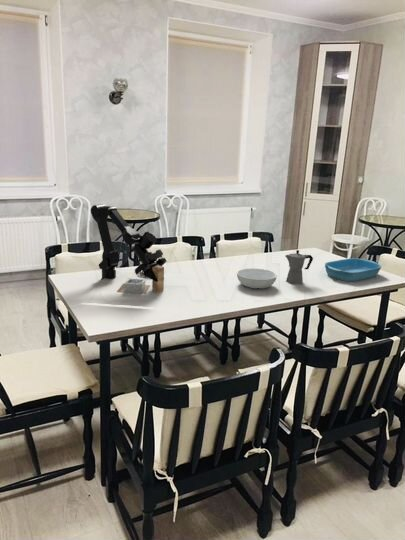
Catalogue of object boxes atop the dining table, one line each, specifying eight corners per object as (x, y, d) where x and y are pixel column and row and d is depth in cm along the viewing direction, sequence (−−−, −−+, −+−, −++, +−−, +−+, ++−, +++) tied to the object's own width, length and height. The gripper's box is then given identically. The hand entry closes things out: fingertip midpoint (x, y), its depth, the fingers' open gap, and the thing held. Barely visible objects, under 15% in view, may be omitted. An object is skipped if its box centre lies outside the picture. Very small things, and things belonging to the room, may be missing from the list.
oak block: (152, 292, 216) (152, 267, 213) (157, 290, 220) (158, 265, 216) (157, 294, 215) (158, 268, 211) (163, 292, 218) (164, 266, 215)
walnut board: (116, 293, 212) (116, 291, 212) (123, 285, 225) (123, 283, 225) (145, 295, 212) (145, 293, 212) (150, 287, 224) (150, 285, 224)
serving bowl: (252, 277, 249) (253, 265, 247) (283, 287, 235) (284, 274, 233) (228, 284, 235) (228, 272, 233) (258, 295, 221) (260, 282, 219)
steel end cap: (124, 292, 212) (124, 283, 211) (128, 286, 220) (128, 278, 219) (141, 293, 212) (141, 284, 210) (145, 288, 220) (145, 279, 218)
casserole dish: (347, 285, 244) (348, 273, 242) (316, 274, 262) (317, 263, 260) (386, 276, 264) (388, 265, 262) (355, 267, 282) (357, 256, 280)
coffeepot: (284, 283, 240) (287, 251, 235) (280, 278, 249) (284, 247, 244) (312, 284, 241) (316, 252, 236) (307, 279, 250) (311, 248, 245)
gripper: (139, 248, 205) (157, 275, 203) (164, 241, 220) (181, 267, 218) (126, 261, 211) (144, 288, 209) (151, 254, 227) (168, 279, 224)
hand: (160, 280), depth 215 cm, fingers closed on oak block, 4 cm apart
